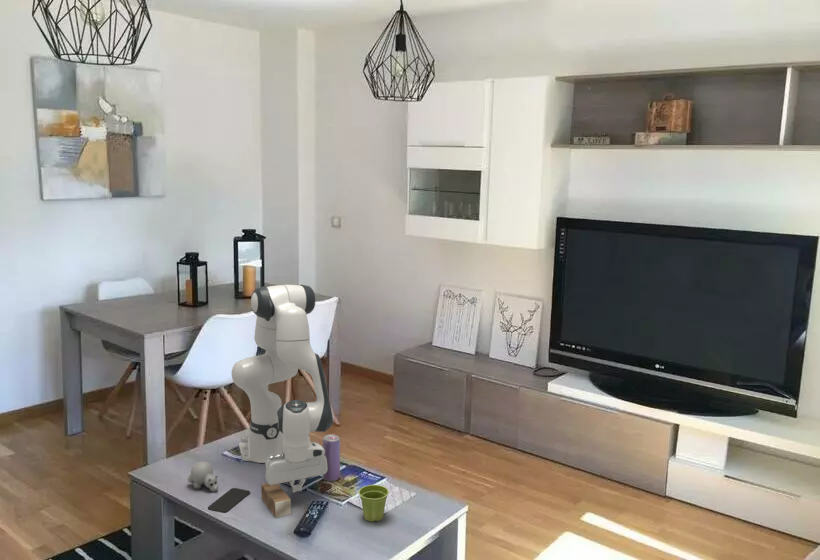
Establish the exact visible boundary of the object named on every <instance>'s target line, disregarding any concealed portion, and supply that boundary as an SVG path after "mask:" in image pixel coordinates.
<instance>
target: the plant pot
mask: <svg viewBox="0 0 820 560" xmlns="http://www.w3.org/2000/svg"><path fill="white" fill-rule="evenodd" d="M389 492H390V490H389V489H388V488H387V487H385V486H384V485H380V484H368V485H365V486H362V487H360V488H359V490H358V496H359V498H360V500H361V507H362V514H363V518H364V520H365V521H368V522H372V523H373V522H376V521H377V522H380V521H381V520H382V519H384V514H385V508H386V507H385V506H386V501H387V498H388V496H389Z"/></svg>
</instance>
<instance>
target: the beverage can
mask: <svg viewBox="0 0 820 560" xmlns="http://www.w3.org/2000/svg"><path fill="white" fill-rule="evenodd" d="M340 439H341V438H340V436H339V435H337V434H326V435H324V436H323V438H322V447H323V448H324V450H325V454H324V455H325V457H326V459H327V467H328V470H327V472H326V474H323V475H322V478H323V479H324V480H325V481H327V482H335V481H338V480H339V479H340V477H341V440H340Z"/></svg>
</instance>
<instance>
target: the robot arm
mask: <svg viewBox="0 0 820 560" xmlns="http://www.w3.org/2000/svg"><path fill="white" fill-rule="evenodd" d="M250 297H251V298H250V306H251V309H252V312H253V313H254V314H255V316H256V320H255V321H256V322H255V330H254V337H253V339H254V342H255V344H256V345H257V346H258V347H259V348H261V349H262V350H265V352H264V354H260V355H256V356H251V357H245V358H243V359H240V360H238V361H237V362H235V363H234V364H233V367H231V379H232V381H233V383H234V385H236V386H237V387H238V388H239V389H241V390H242V391H244V392H245V394H246V395H247V397H248V399H249V403H250V414H251V415H250V416H251V418H250V422H249V428H248V429H247V430H246V431H245V433H244V436H241V441H240V442H239V444H238V447H239V452H240V456H241V459H242V461H244V462H245V461H246V462H247V461H248V462H253V463H260V464H261V463H262V464H264V465H265V478H264V479H265V481H266V483H268V484H269V485H275V484H279V485H280V484H283V483H289V484H290V486H291V491H292V493H299V492H302V491H303V485H304V484H305V482H306V479H308V478H314V477H317V476H323V474H326V472H327V470H328V467H327V459H326V457H325V455H324V454H325V450H324V448H323V445H321V444H320V443H318V442H316V441H311V438H310V432H320V433H323V432H324V433H326V431H328V430H329V429H330V428H331V427H332V426H333V425H334V412H333V411H334V410H333V407H332V404H331V402H330V397H329V391H328V388H327V387H328V386H327V382H326V381H327V380H326V378H325V377H326V376H325V372H324V368H323V363H322V360H321V358H320V355H319V354H318V353H316V352H314V350H313V348H312V345H311V338H310V326H309V320H308V315H309V314H311V313H312V312H313V311H314V309H315V306H316V294H315V291H314V290H313V288H312V287H311V286H309V285H305V284H280V285H270V286H265V285H264V286H260V287H256V288H255V289H254V290H253V292H252V293H251V296H250ZM299 370H302V371H304V372H306V373H308V374H309V375H310V376H311V377H312V383H313V385H314V391H315V396H316V400H315V401H310V402H309V401H307V402H305V400H300V399H294V400H290V401H288V402H286V403H284V404H282V399H281V398H280V396H279V395H278V394H277V393H275V392H272V391H270V390H269V385H270V384H271V385H272V384H275V383H278V382H280V383H281V382H285V381H287V380H289V379H291V378H295V376H296V375H297V373H298V371H299ZM297 480H298V481H299V482H298V484H295V481H297Z"/></svg>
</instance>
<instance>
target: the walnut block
mask: <svg viewBox="0 0 820 560" xmlns="http://www.w3.org/2000/svg"><path fill="white" fill-rule="evenodd" d="M260 486H261V492H260V493H261V500H262V502H263V503H264V504H265V506H266V507H267V508H268V510H269V511H270V512H271V513H272V515H273V516H274V518H276V519H277V518H280V517H285V516H288V515H291V513H292V512H291V511H292V506H291V505H292V504H291V503H292V501H291V498H290V497H289V495H288V494H287V493H286V492H285V491H284V489H283V488H282V487H281V485H280V484H275V485H269V484H268V483H267V482H266V483H262V484H261V485H260Z"/></svg>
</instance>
